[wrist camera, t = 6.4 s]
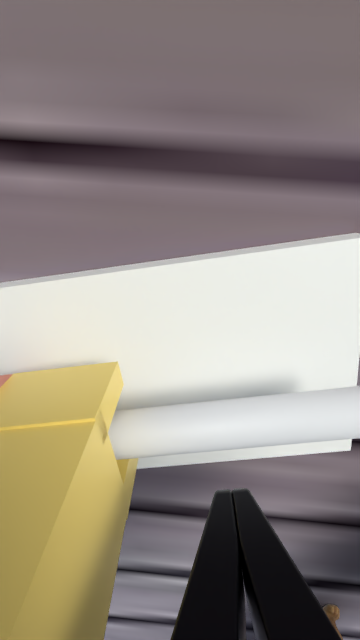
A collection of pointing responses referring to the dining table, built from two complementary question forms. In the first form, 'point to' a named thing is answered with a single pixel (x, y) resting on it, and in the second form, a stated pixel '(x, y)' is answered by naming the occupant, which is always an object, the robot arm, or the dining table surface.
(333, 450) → the cord rail
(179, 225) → the dining table surface
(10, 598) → the yellow pegged block
